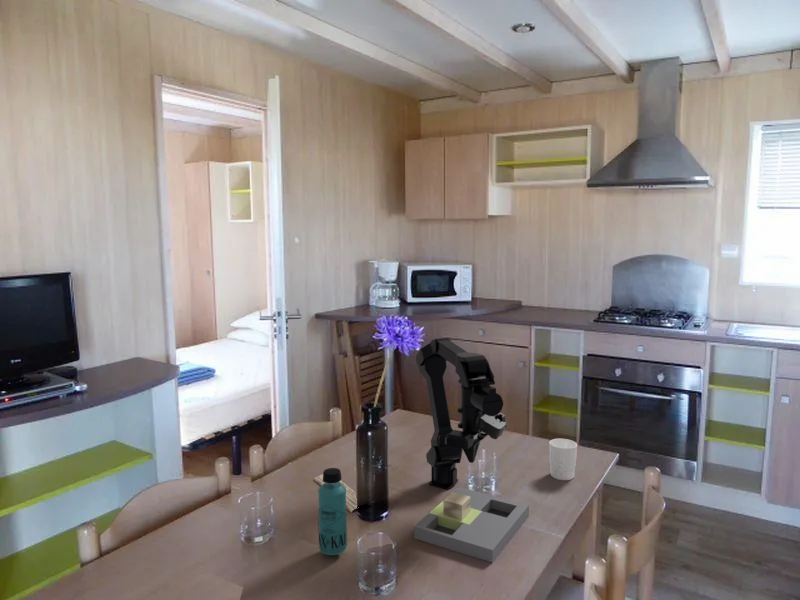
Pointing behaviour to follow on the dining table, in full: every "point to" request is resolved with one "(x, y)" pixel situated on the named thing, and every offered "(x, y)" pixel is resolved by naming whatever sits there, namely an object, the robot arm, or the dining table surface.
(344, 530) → the beverage bottle
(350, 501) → the newspaper
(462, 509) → the maple block
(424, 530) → the trap deck
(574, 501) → the dining table surface
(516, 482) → the dining table surface
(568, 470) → the white cup
